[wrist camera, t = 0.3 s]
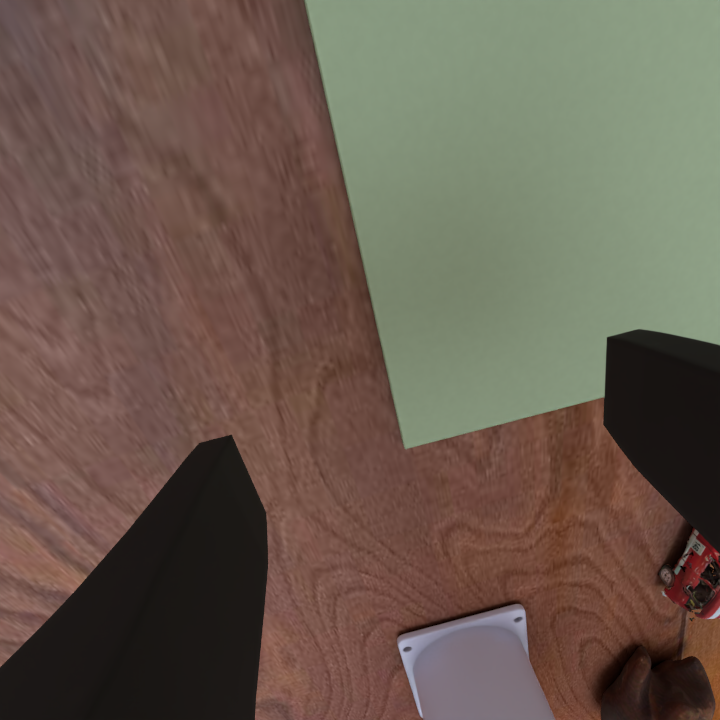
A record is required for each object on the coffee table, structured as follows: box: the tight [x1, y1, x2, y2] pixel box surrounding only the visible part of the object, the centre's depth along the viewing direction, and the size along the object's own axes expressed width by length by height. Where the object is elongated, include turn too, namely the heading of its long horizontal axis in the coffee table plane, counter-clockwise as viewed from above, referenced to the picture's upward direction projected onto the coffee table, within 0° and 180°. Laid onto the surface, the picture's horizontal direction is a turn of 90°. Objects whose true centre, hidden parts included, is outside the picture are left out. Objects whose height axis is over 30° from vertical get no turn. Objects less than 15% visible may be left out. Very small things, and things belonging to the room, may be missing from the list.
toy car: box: [659, 528, 720, 621], centre depth 26 cm, size 4×8×3 cm, turn 174°
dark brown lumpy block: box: [601, 646, 715, 720], centre depth 33 cm, size 6×7×10 cm
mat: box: [304, 0, 720, 449], centre depth 17 cm, size 18×18×1 cm
